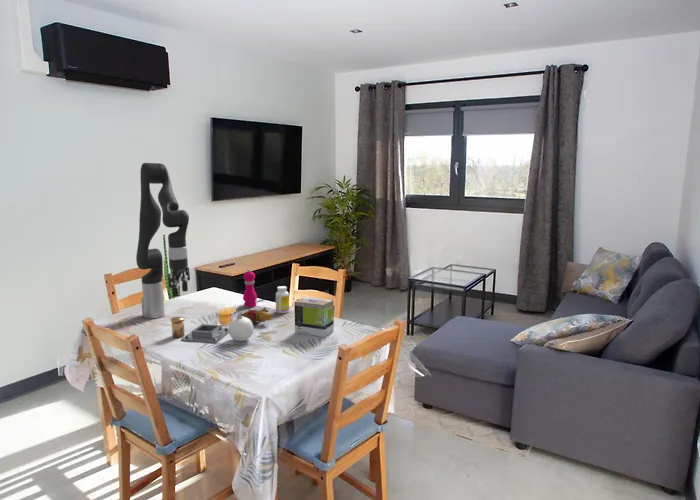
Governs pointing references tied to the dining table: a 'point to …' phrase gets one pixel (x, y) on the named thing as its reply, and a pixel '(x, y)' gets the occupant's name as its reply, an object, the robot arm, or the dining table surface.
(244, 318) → the ornament
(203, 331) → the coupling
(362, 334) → the dining table surface
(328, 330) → the tea box
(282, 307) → the supplement bottle
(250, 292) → the pepper mill
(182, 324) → the round knob
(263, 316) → the scarecrow
